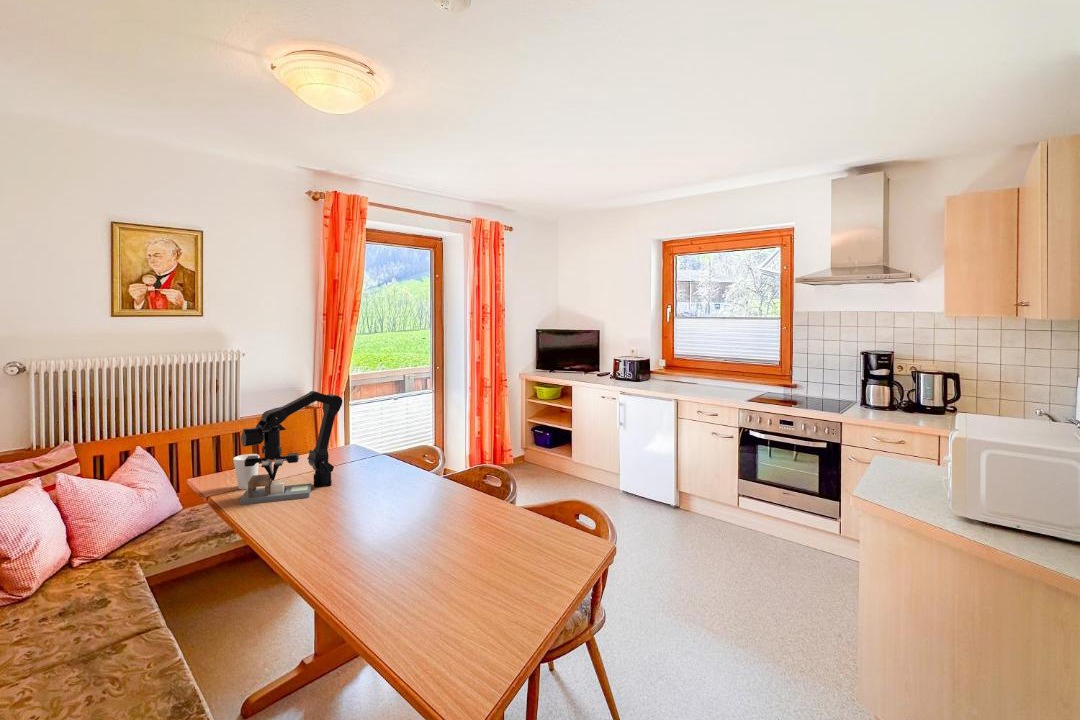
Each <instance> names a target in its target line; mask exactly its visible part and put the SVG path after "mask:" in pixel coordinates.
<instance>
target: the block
mask: <svg viewBox="0 0 1080 720" xmlns="http://www.w3.org/2000/svg"><path fill="white" fill-rule="evenodd" d="M285 486H286V485H285V480H276V481H275V480H274V481H272V483H271V485H270V494H277V493H285Z"/></svg>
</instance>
